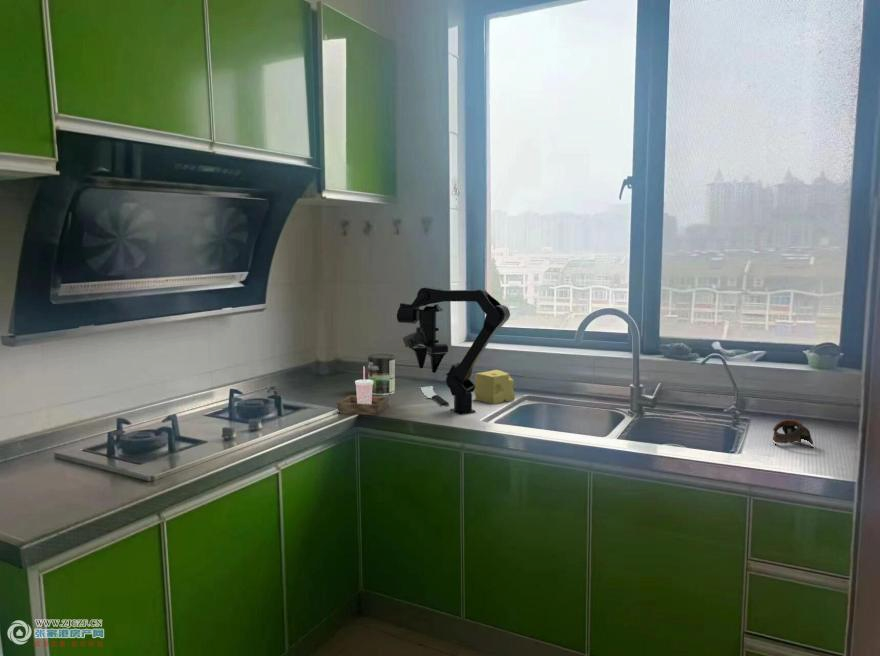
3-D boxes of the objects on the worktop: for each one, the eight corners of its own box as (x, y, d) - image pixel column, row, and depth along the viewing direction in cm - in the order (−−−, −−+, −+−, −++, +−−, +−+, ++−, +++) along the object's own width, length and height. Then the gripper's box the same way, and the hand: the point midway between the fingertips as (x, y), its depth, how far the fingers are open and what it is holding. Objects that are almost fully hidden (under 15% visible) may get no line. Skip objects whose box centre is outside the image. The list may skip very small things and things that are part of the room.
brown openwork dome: (821, 453, 171) (810, 428, 169) (785, 465, 174) (774, 441, 172) (805, 430, 182) (795, 407, 180) (771, 442, 185) (761, 419, 183)
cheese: (514, 400, 230) (515, 373, 228) (492, 404, 223) (492, 376, 222) (495, 395, 238) (495, 369, 237) (473, 399, 231) (473, 372, 230)
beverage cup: (364, 404, 219) (364, 364, 217) (377, 407, 215) (377, 366, 213) (351, 407, 214) (350, 366, 213) (363, 410, 210) (363, 368, 209)
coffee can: (378, 396, 235) (378, 358, 233) (362, 392, 242) (362, 355, 241) (400, 393, 241) (400, 356, 240) (384, 388, 249) (384, 352, 248)
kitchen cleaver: (406, 387, 248) (431, 383, 251) (407, 392, 249) (432, 388, 251) (424, 406, 218) (453, 401, 221) (425, 411, 219) (453, 406, 221)
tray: (388, 406, 219) (388, 397, 219) (378, 415, 207) (378, 405, 207) (349, 404, 222) (349, 395, 222) (337, 412, 210) (337, 403, 210)
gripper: (394, 322, 218) (394, 367, 220) (418, 328, 202) (418, 377, 204) (423, 321, 224) (422, 365, 226) (449, 327, 208) (448, 374, 209)
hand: (427, 370), depth 216 cm, fingers open, 9 cm apart
